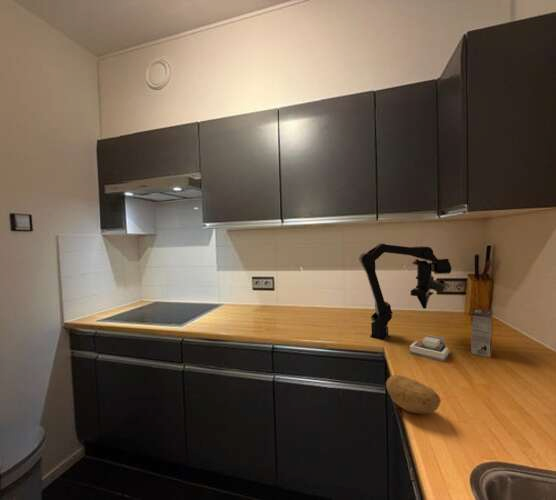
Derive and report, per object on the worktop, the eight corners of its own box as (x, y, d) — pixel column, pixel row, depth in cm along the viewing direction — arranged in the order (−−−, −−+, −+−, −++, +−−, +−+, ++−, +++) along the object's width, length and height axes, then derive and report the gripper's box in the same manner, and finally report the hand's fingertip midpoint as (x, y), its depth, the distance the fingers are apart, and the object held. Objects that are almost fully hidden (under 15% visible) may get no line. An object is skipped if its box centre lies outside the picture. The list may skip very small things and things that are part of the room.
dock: (409, 353, 115) (409, 346, 115) (418, 345, 123) (418, 338, 123) (443, 361, 107) (443, 353, 107) (450, 352, 115) (450, 344, 115)
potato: (430, 430, 71) (430, 399, 71) (379, 405, 82) (379, 377, 82) (447, 414, 77) (447, 384, 77) (397, 392, 88) (397, 366, 88)
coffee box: (473, 346, 120) (473, 307, 119) (492, 349, 116) (492, 309, 115) (470, 353, 113) (470, 312, 112) (491, 357, 109) (491, 315, 108)
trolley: (417, 351, 115) (417, 339, 114) (424, 344, 121) (424, 333, 120) (440, 356, 109) (440, 344, 109) (446, 349, 115) (446, 338, 115)
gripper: (438, 278, 118) (438, 316, 119) (449, 272, 132) (449, 306, 133) (410, 276, 126) (410, 312, 127) (423, 271, 140) (423, 303, 141)
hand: (424, 308), depth 132 cm, fingers closed
